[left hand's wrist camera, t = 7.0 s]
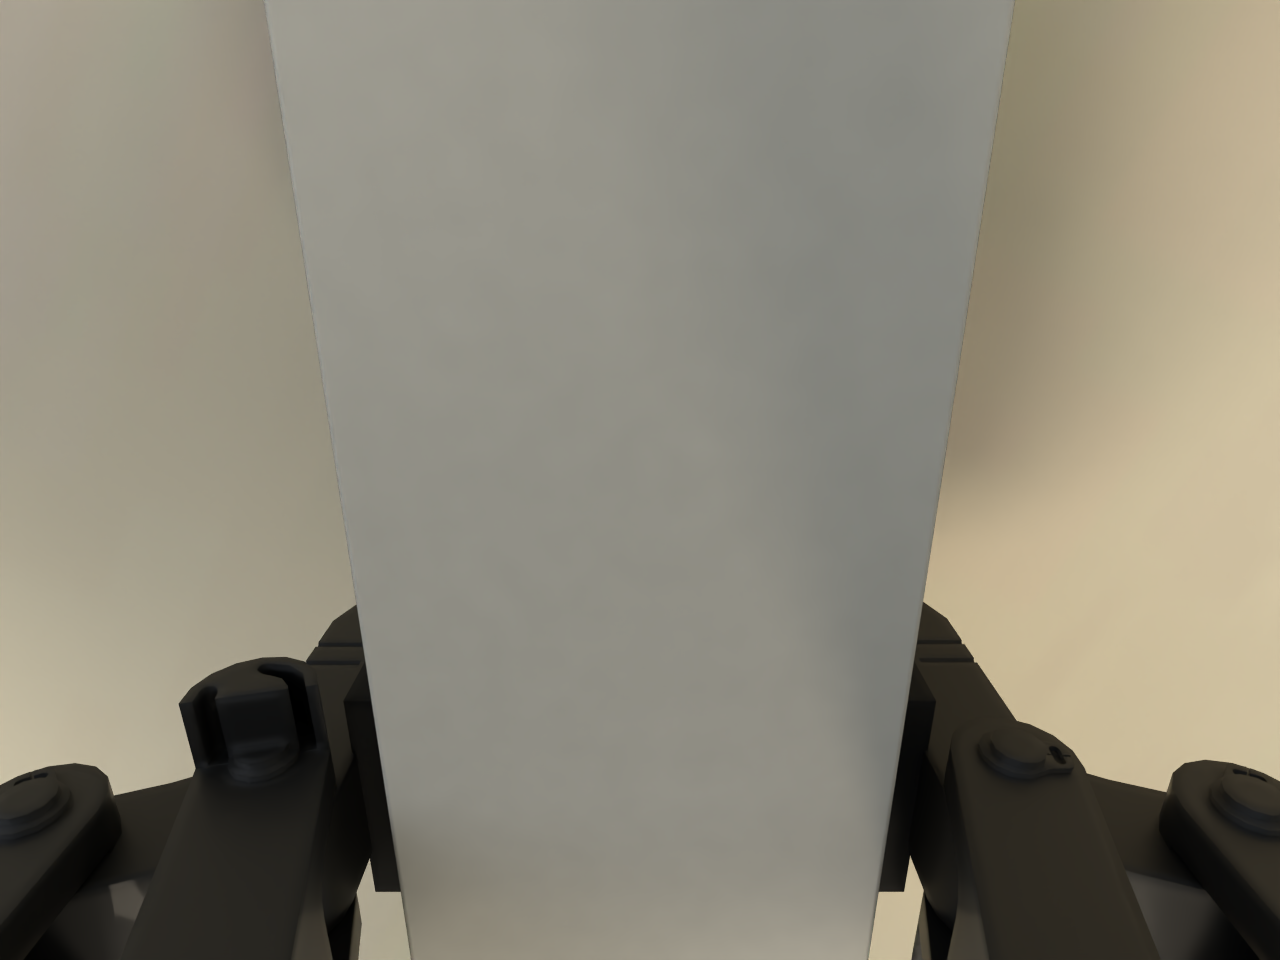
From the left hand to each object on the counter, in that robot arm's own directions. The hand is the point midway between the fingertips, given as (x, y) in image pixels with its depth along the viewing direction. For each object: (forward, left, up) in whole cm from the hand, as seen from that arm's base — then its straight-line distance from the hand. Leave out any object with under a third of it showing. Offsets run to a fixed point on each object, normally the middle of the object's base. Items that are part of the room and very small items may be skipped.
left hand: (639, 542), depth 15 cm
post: (+30, -6, -1) cm, 30 cm away
